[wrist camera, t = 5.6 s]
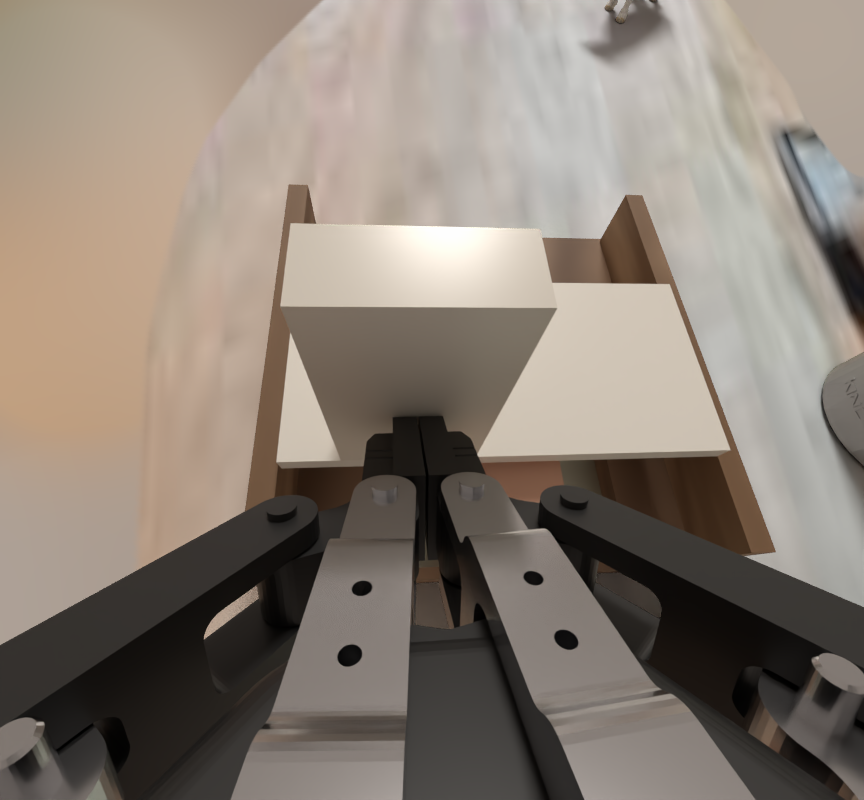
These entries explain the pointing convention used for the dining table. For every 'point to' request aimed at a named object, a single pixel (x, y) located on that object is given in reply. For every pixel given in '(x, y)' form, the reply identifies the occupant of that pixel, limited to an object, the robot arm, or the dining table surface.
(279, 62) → the dining table surface
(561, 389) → the cover
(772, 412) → the dining table surface
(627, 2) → the bull figurine
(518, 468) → the terracotta block
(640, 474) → the brown wooden box
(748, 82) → the dining table surface
